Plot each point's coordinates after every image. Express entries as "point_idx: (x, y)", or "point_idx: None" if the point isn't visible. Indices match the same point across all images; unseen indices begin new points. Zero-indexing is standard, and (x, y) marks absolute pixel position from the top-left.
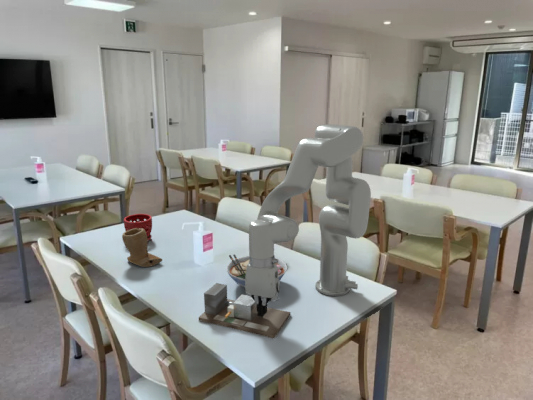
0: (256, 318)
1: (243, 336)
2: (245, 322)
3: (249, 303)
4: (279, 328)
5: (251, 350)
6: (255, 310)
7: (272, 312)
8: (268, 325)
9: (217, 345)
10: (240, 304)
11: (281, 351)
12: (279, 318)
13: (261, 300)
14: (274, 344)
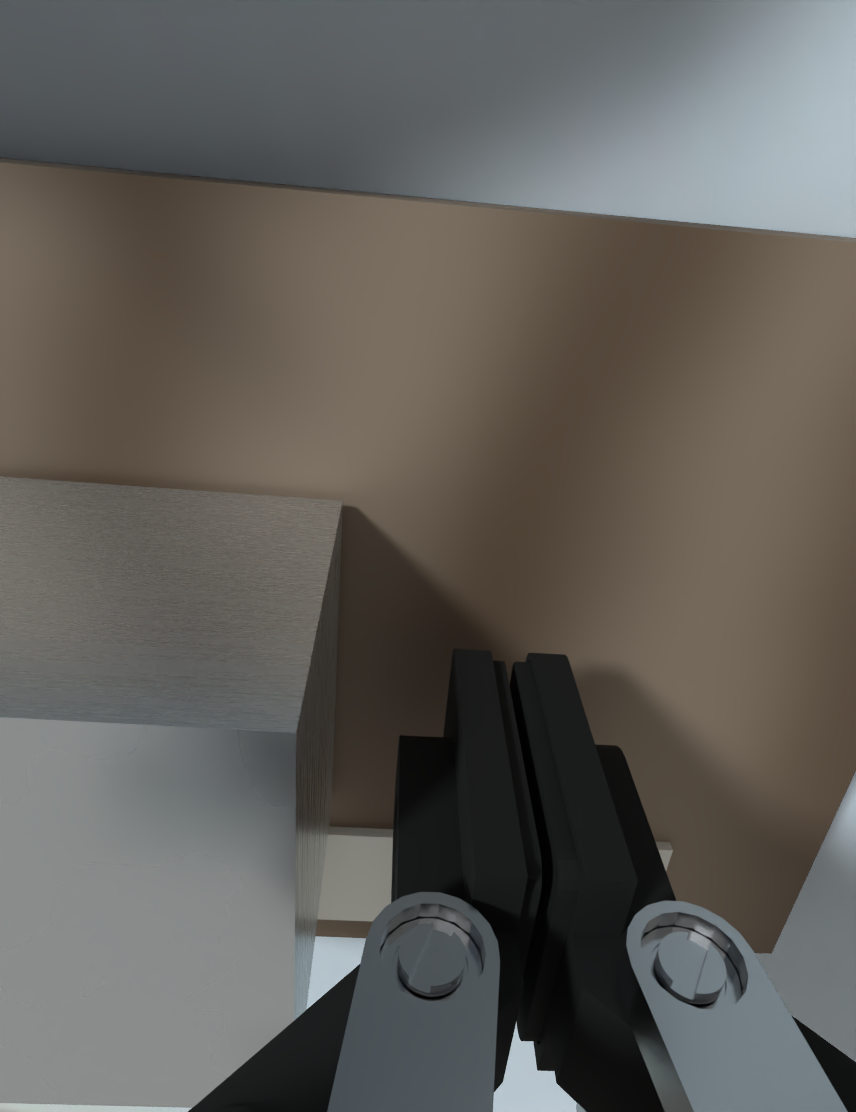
0: (388, 700)
1: (352, 956)
2: None
3: (194, 1033)
4: (829, 811)
5: (530, 1087)
6: (326, 711)
7: (647, 413)
8: (648, 810)
9: (163, 1109)
10: (4, 1100)
11: (845, 1036)
12: (821, 582)
13: (514, 1015)
14: None
